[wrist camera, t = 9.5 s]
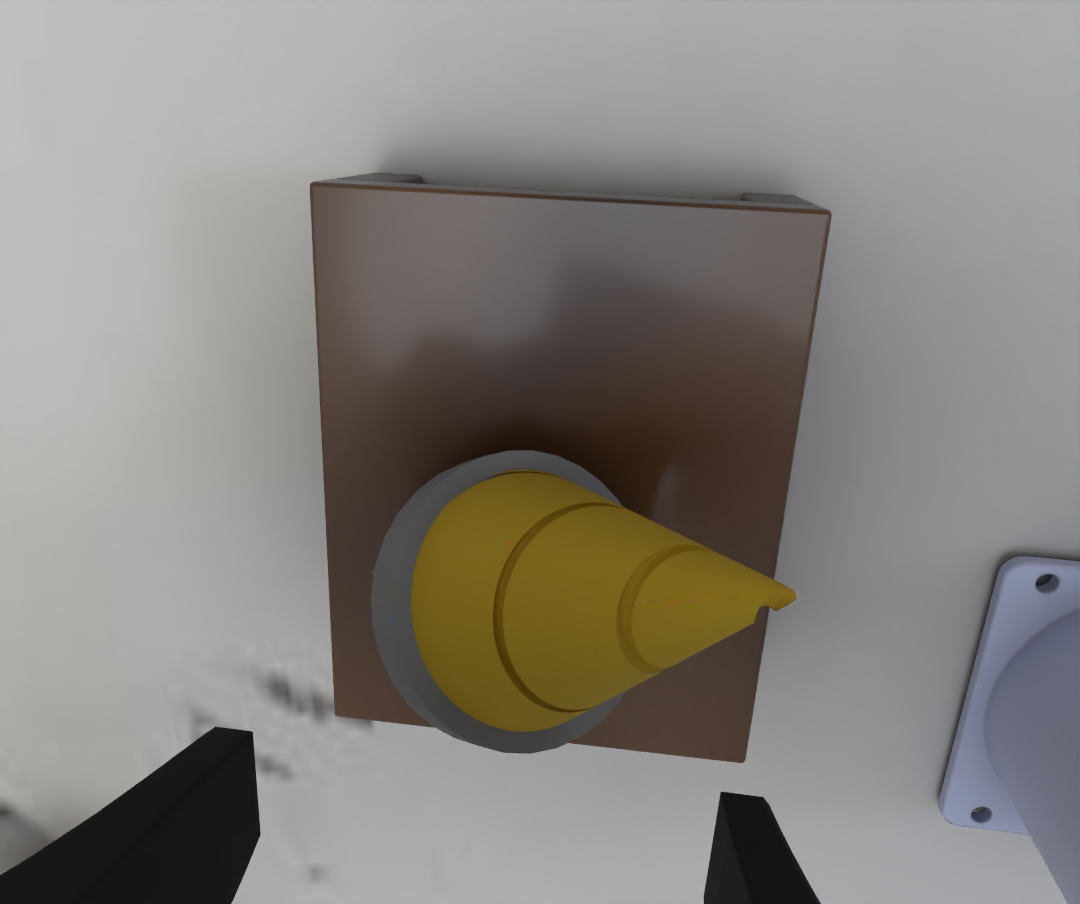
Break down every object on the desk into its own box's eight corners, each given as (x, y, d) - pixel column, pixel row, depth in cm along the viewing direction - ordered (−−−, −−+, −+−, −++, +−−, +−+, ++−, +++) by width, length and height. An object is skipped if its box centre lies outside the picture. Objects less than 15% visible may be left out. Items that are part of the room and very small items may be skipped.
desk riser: (796, 195, 19) (833, 210, 15) (730, 662, 23) (745, 765, 19) (372, 172, 20) (307, 181, 16) (383, 626, 24) (333, 717, 20)
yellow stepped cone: (359, 445, 18) (643, 308, 10) (569, 510, 21) (947, 446, 12) (294, 705, 17) (563, 814, 8) (529, 742, 19) (925, 857, 11)
